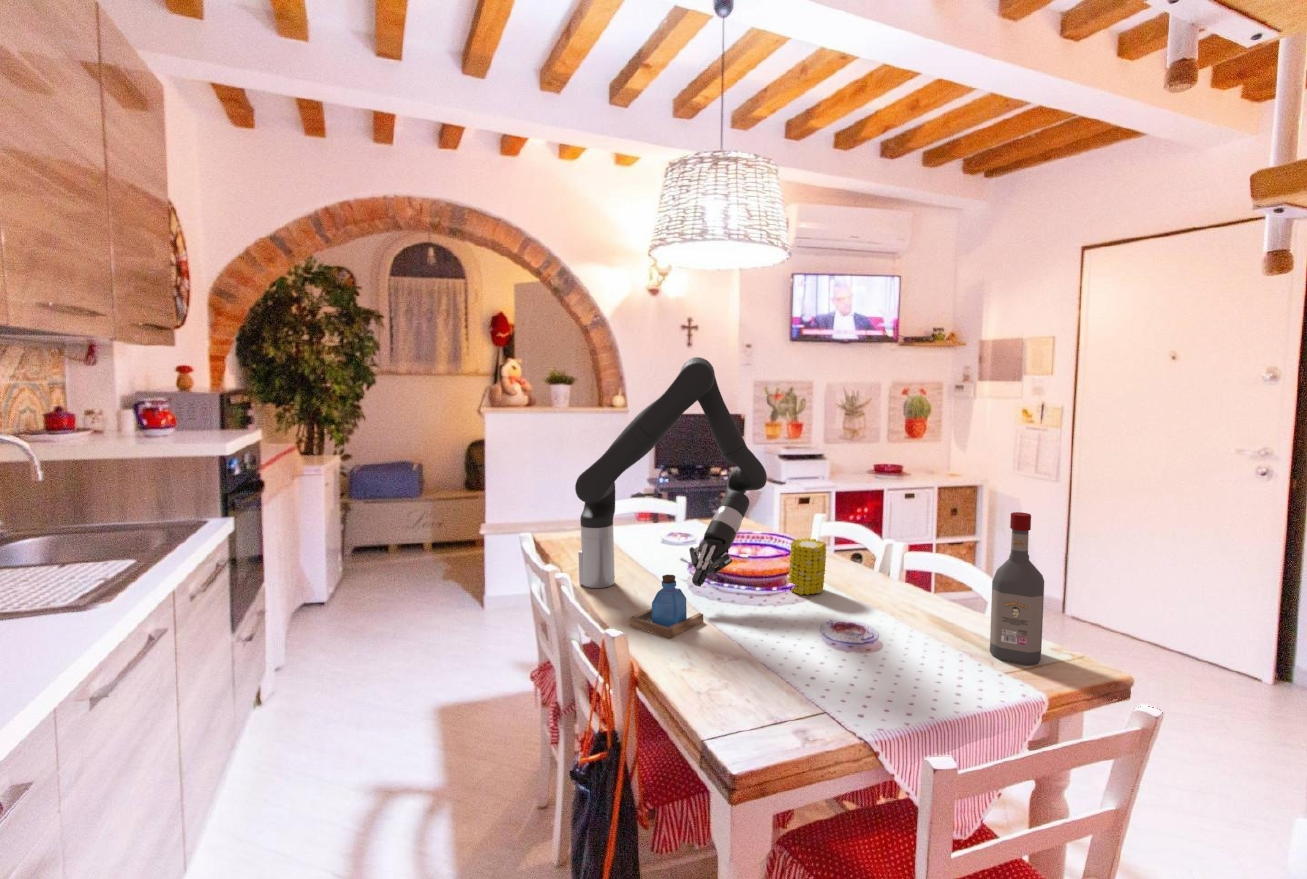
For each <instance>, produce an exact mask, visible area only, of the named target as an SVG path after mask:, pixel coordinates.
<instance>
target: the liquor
mask: <svg viewBox="0 0 1307 879" xmlns="http://www.w3.org/2000/svg"><path fill="white" fill-rule="evenodd" d="M1009 524H1010V525H1009V528H1010V529H1011V540H1010V541H1011V545H1010V554H1009V557H1008V559H1007V560H1005V562H1004V563H1003V564H1002V565H1000V566H999V567H998V568H997V569H996V571H995V573H994V576H993V578H992V580H991V581H992V582H991V606H990V607H991V609H990V634H989V635H990V637H989V638H990V639H989V652H990V654H991V656H992V657H994V658H996V659H998V660H999V661H1002V662H1005V663H1006V662H1007V663H1013V664H1017V665H1021V666H1022V665H1023V666H1032V665H1038V664H1039V662H1040V661H1041V656H1042V648H1043V647H1042V645H1043V644H1042V641H1043V623H1044V622H1043V618H1044V598H1045V597H1044V596H1045V595H1044V594H1045V579H1044V577H1043V576H1044V575H1043V574H1042V573H1041V572H1040V571H1039V570H1038V568H1037V567H1036V566H1035V565H1034V564H1033V563H1032V562H1031V560H1030V556H1029V531H1031V530H1032V528H1031V526H1032V514H1031V513H1028V512H1021V511H1017V512H1016V511H1015V512H1011V513H1010V523H1009Z"/></svg>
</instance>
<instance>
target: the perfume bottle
mask: <svg viewBox="0 0 1307 879" xmlns="http://www.w3.org/2000/svg"><path fill="white" fill-rule="evenodd" d="M661 587H662V588H661V589H659V590H658V591H657V593H656V594H655V596H654V598H653V600H652V602H651V608H652V619H651V622H653V623H656V624H660V625H663V626H666V627H670V626H672V625H675V624H677V623H679V622H681V621H683V620H685V619H687V618H688V616H687V597H686V595H685V594H684V592H683V591H682V589H681V588H677V580H676V575H674V574H664V575H662V580H661Z"/></svg>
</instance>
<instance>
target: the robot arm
mask: <svg viewBox="0 0 1307 879" xmlns="http://www.w3.org/2000/svg"><path fill="white" fill-rule="evenodd" d="M715 375H716V374H715V369H714V367H713V365H712V364H711V362H710V361H708V360H707V359H705V358H703V357H698V356H697V357H691V358H689V359H688V360H686V361H685V362H684V364H683V365H682V367H681V368H680V371H679V372H678V375H677V376H676V378H675V379H674V380H673V381H672V383H671V384H670V385H669V387H668V388H667V389H666V390H665V392H663V393H662V394H661V396H659V397H658V398H657V399H655V401H653V402H652V403H650V404H649V405H647V406H646V407H644V409H642V411H640V412H639V413H638V414H637V415H636V416H635V417H634V418H633V419H632V420H631V421H630V423H629V424H627V426H626V427H624V429H623V430H622V432H621V433H620V434H618V436H617V437H616V439H615V440H614V441H613V442H612V444H611V445H610V446H609V447H608V448H607V450H605V452H604V453H603V454H602V455H601V456H600V457H599V458H598V459H597V460H596V461H594V462H593V463H592V464H591V465H590V466H589V467H588V468H587V469H585V470H584V471H583V472H582V473H581V474H580V475H578V477H577V478H576V481H575V486H574V487H575V488H574V489H575V494H576V497H577V498H578V499H579V500H580V501H582V502H584V508H583V510H582V513H581V515H580V543H581V544H580V546H581V547H580V548H581V549H580V550H579V552H578V579H579V580H578V582H579V583H578V584H579V585H580V586H583V587H585V588H589V589H604V588H608V587H611V586H613V585H615V577H616V576H615V548H614V547H615V545H614V544H615V543H614V542H615V541H614V540H615V538H614V537H615V536H614V517H615V512H616V482H615V481H617V479H618V478H619V477H620V476H621V475H622V474H623V473H624V472H626V470H627V471H628V469H630V468H631V467H632V466H633V465H634V464H636V463H637V462H639V461H640V460H641V459H642V458H644V457H645V456H646V455H648V454H649V452H650V451H652V450H653V448H655V447H656V446H657V444H658V443H660V441H661V440H663V438H664V437H665V436H666V434H668V432H669V431H670V430H671V429H672V427H673V426H674V425H675V424H676V423H677V421H678V420H679V418H680V417H681V416H682V415H683V414H684V413H685V412H686V411H687V410H689V408H690V407H692V406H693V405H694V404H695V403H696V402H698V403H699V406H701V409H702V411H703V414H704V415H705V418H706V420H707V423H708V426H709V428H710V429H709V430H710V431H711V435H712V436H713V439H714V441H715V443H716V445H717V448H718V449H719V452H720V453H721V455H722V457H723V459H724V461H726V462H727V463H729V464H733V465H735V466H736V467H734V468H733V469H731V472H730V473H729V475H728V477H727V481H726V488H725V493H724V496H723V498H722V501H721V502H720V505H719V507H718V508H717V510H716V511H715V512H714V514H713V517H712V518H711V521H710V522H709V524H708V526H707V528H706V530H705V532H704V536H703V540H702V541H701V542H700V543H699V545H698V546H696V547H693V546H691V547H689V550H688V551H689V554H690V560H691V565H692V566H693V567H694V568H695V572H694V574H693V576H692V579H691V580H692V581H691V582H692V584H693V585H694V586H696V587H701V586H702V585H703V584H705V581H706V579H707V577H708V575H710V574H714V575H715V574H717V573H718V572H720V571H721V570H723V569H724V568H726V567H727V566H729V565H730V564H732V563H733V559H732V558H731V556H730V555H729V549H730V548H731V547H732V545H733V543H734V541H735V539H736V537H737V534H738V533H739V531H740V528H741V526H742V523H743V520H744V518H745V515H746V514H747V511H748V509H749V506H750V499H749V497H748V496H747V495H746V492H749V491H750V492H751V491H756V490H757V491H758V490H761V489H764V487H765V486H766V484H767V480H768V476H767V471H766V469H765V467H764V465H763V464H762V463H761V461H760V460H759V459H758V458H757V457H756V455H755V454H754V453H753V452H752V451H751V450H750V448H748V446H747V444H746V442H745V440H744V437H743V436H742V433H741V432H740V430H739V427H738V426H737V424H736V422H735V420H734V418H733V417H732V415H731V413H730V411H729V409H728V407H727V405H726V403H725V401H724V398H723V396H722V394H721V391H720V388H719V386H718V381H717V379H716V376H715Z"/></svg>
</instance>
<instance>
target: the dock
mask: <svg viewBox="0 0 1307 879" xmlns="http://www.w3.org/2000/svg"><path fill="white" fill-rule="evenodd" d="M647 620H648V621H647ZM649 620H652V607H651V608H649V609H646V610H644V611H642V612H640V613H637V614H636V615H633V616H631V617H629V618H628V625H629V627H632V628H635V629H637V630H641V629H643V630H642V631H644V630H646V631H645V632H647V631H649V632H648V633H650V632H652V633H651V634H653V633H654V635H657V636H661V637H664V638H667V639H672V638H673V637H675V636H678V635H680V634H681V633H684V632H686V631H688V630H690V629H692V628H694V627H696V626H698V625H700V624H702V623H703V622H704V613H701V612H698V613H696V614H694V615H692V616H689V617H687V619H685V620H683V621H681V622H679V623H677V624H675V625H672V626H670V627H666V626H663V625H660V624H656V623H653V622H652V621H649ZM685 630H686V631H685Z"/></svg>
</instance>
